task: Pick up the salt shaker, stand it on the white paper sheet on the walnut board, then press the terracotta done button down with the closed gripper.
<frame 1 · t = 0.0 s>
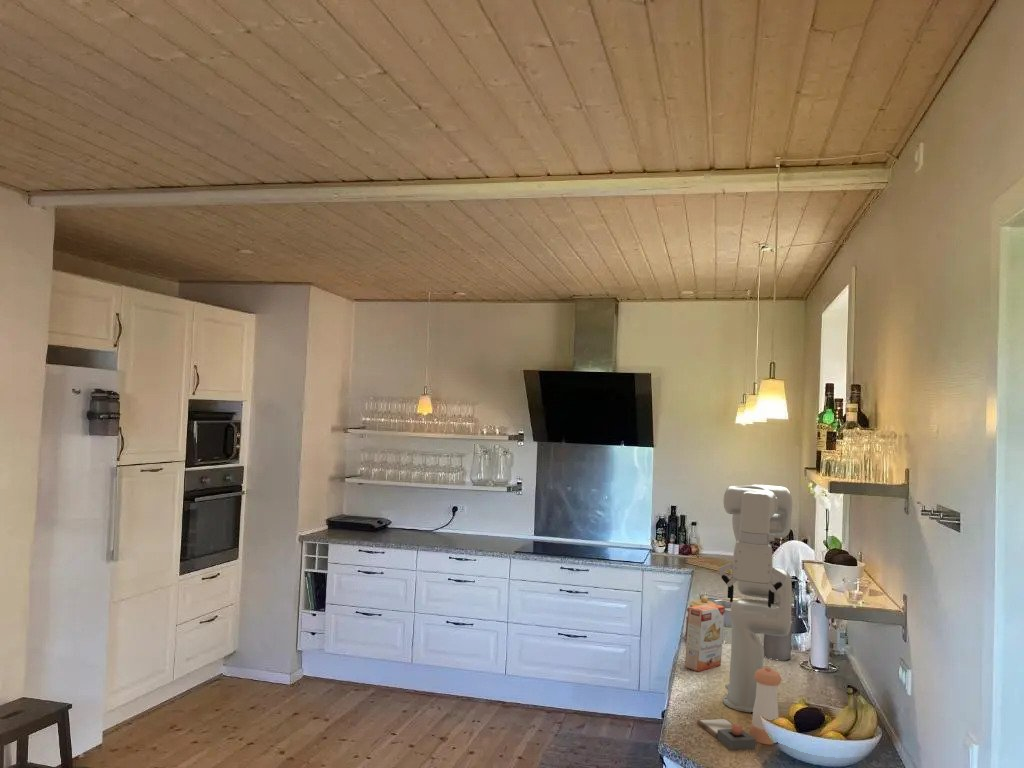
hand: (750, 603, 203), 37 cm above the worktop, tool pointing down, fingers open, 9 cm apart
done button: (736, 729, 204), point 4 cm above the worktop, slide at 0.0 cm
cracker box: (703, 667, 268), on the worktop
button housing: (736, 744, 203), on the worktop
canister: (701, 642, 299), on the worktop
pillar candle: (776, 657, 286), on the worktop
drawing board: (720, 729, 212), on the worktop
salt shaker: (764, 739, 208), on the worktop
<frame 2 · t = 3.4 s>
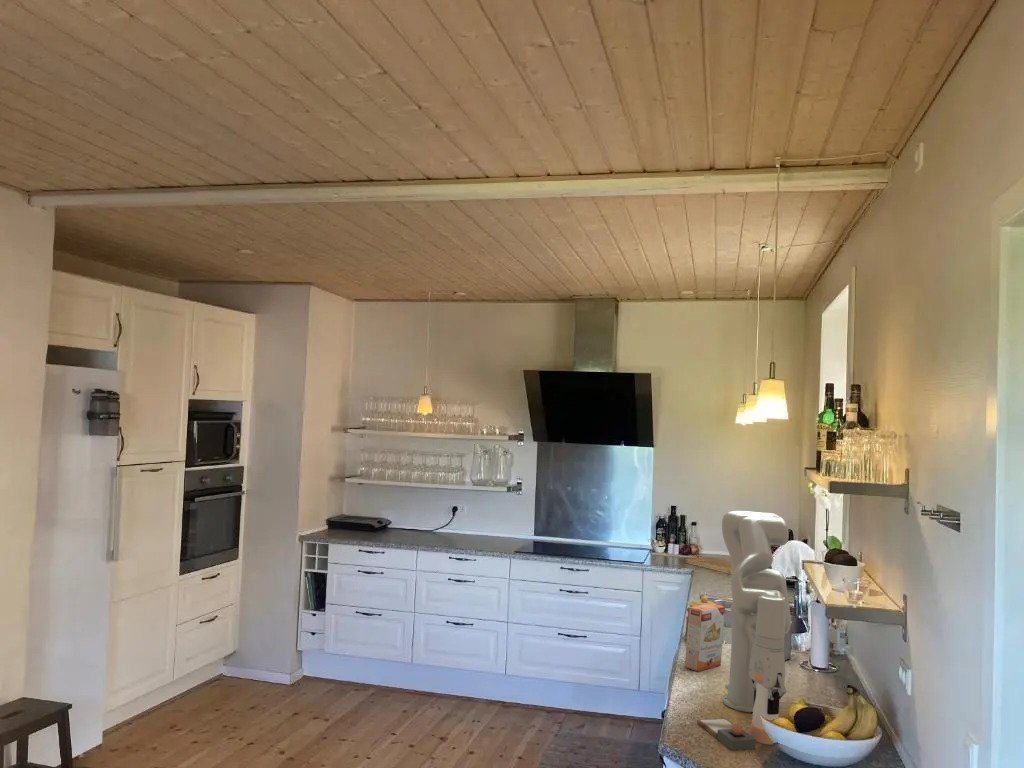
hand: (765, 708, 208), 8 cm above the worktop, tool pointing down, fingers closed on salt shaker, 5 cm apart
salt shaker: (764, 739, 208), on the worktop, touching gripper
everything else where it was.
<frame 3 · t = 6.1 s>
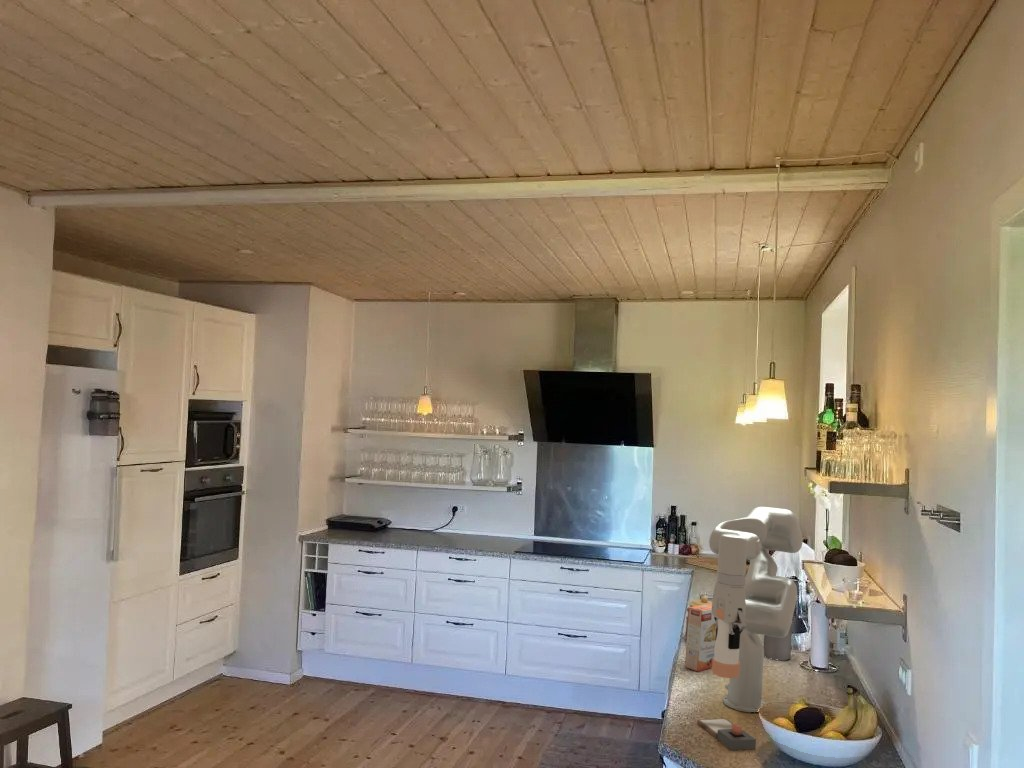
hand: (727, 644, 213), 23 cm above the worktop, tool pointing down, fingers closed on salt shaker, 5 cm apart
salt shaker: (725, 674, 213), point 15 cm above the worktop, touching gripper
everything else where it was.
when the fingers open (10 cm above the worktop, at t = 9.0 s): salt shaker drops 1 cm, resting on drawing board.
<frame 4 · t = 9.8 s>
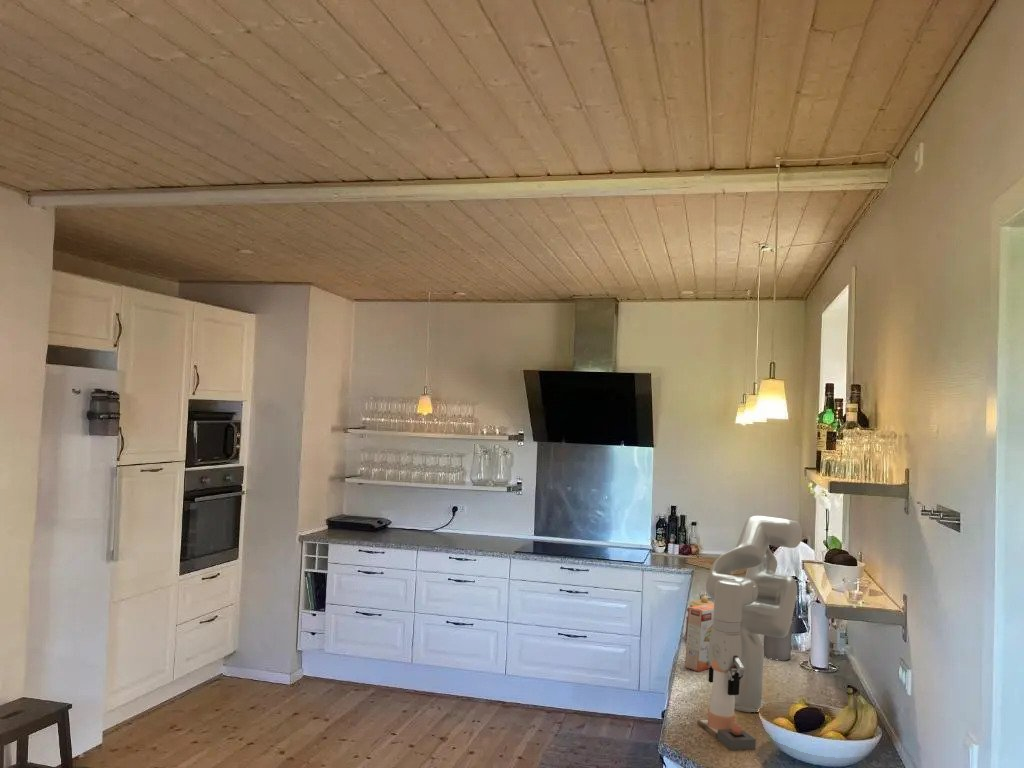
hand: (723, 688, 213), 11 cm above the worktop, tool pointing down, fingers open, 9 cm apart
salt shaker: (721, 726, 213), point 1 cm above the worktop, touching drawing board
everything else where it was.
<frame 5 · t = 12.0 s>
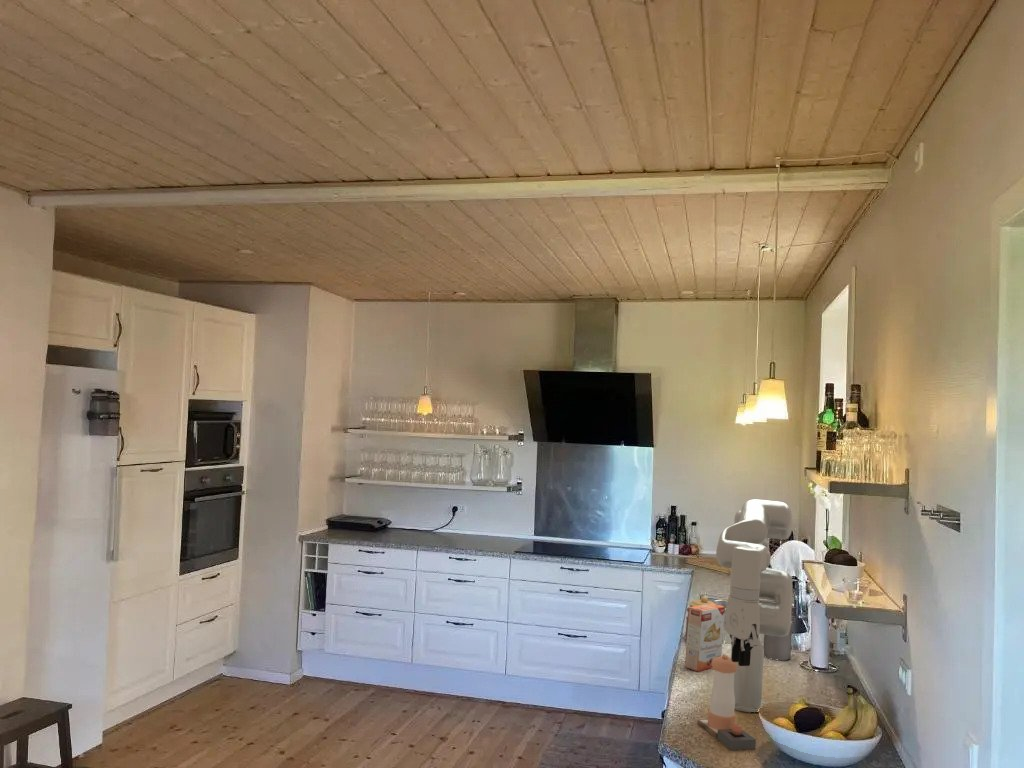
hand: (740, 662, 204), 21 cm above the worktop, tool pointing down, fingers closed
nothing on the worktop moved.
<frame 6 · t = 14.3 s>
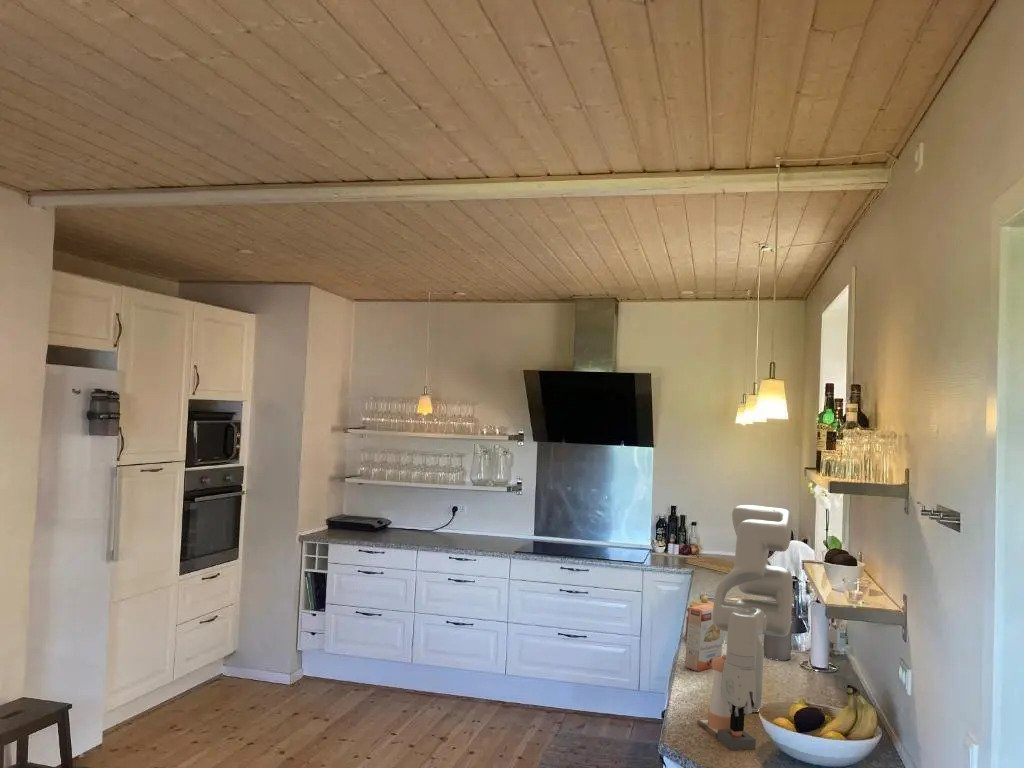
hand: (736, 729, 203), 4 cm above the worktop, tool pointing down, fingers closed
done button: (736, 733, 204), point 3 cm above the worktop, slide at 1.1 cm
everything else where it was.
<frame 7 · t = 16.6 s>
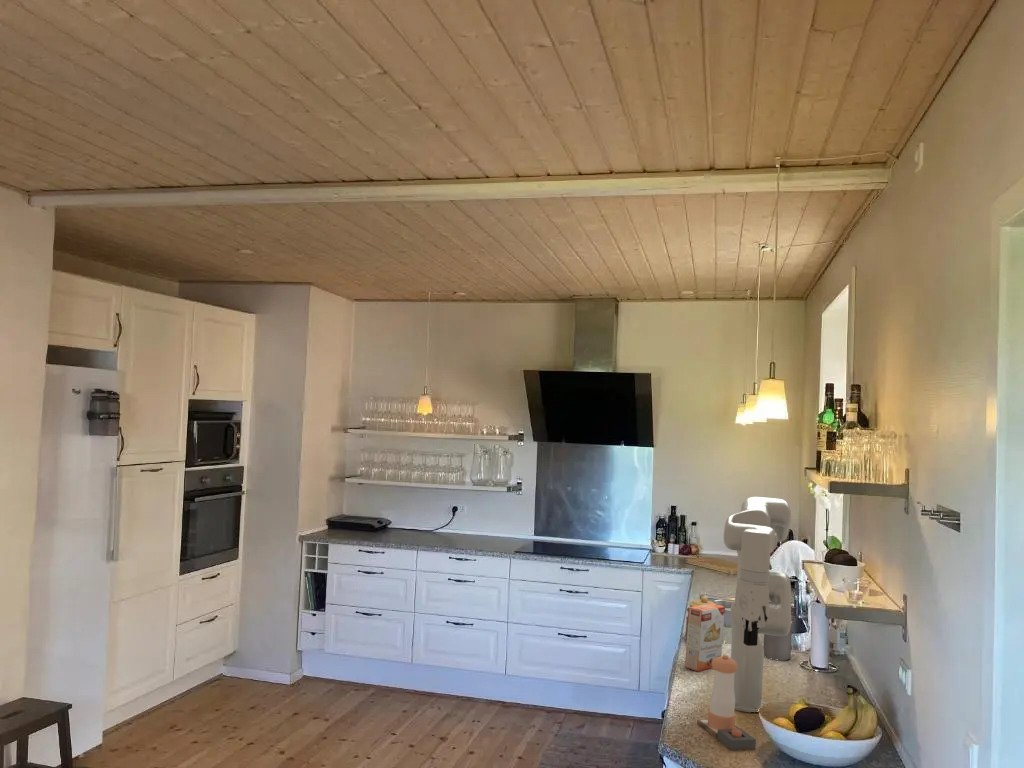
hand: (750, 644, 206), 26 cm above the worktop, tool pointing down, fingers closed
nothing on the worktop moved.
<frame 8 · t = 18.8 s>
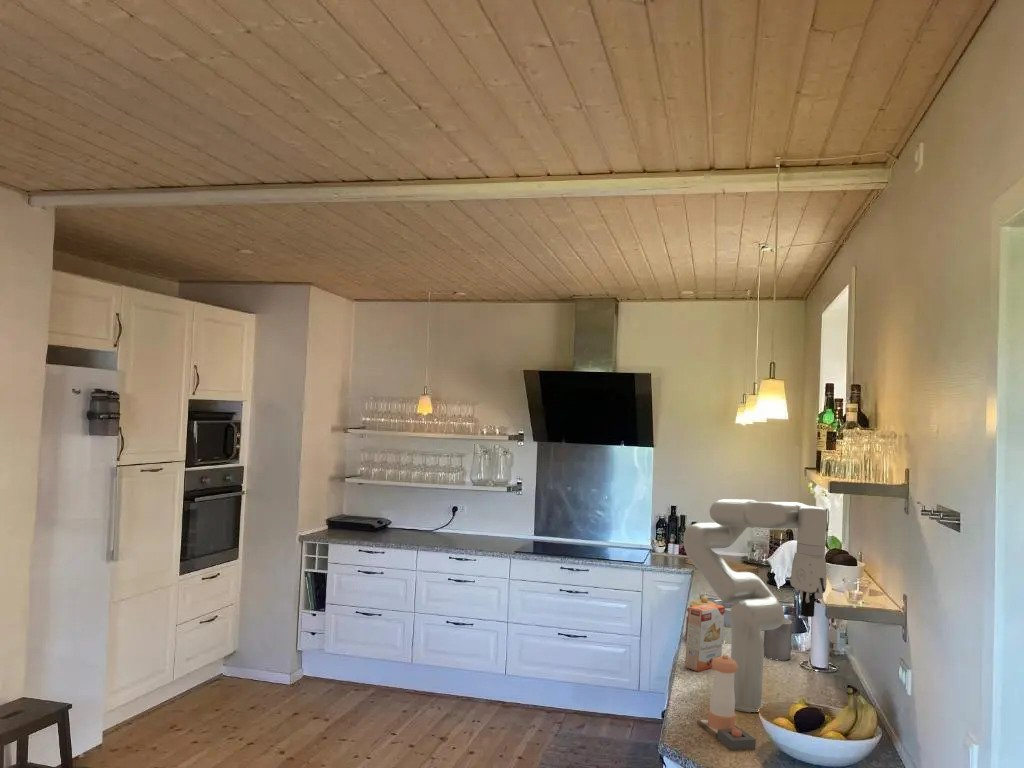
hand: (807, 615, 216), 32 cm above the worktop, tool pointing down, fingers closed
nothing on the worktop moved.
at the end: salt shaker 0.2 cm off-centre on the drawing board, point 0.9 cm above the drawing board's base; salt shaker tilted 0°; done button slide at 1.3 cm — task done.
